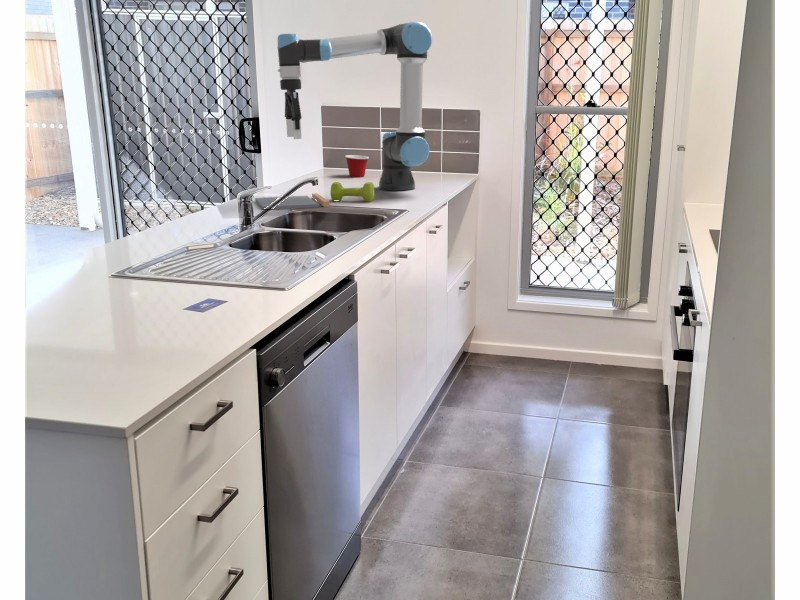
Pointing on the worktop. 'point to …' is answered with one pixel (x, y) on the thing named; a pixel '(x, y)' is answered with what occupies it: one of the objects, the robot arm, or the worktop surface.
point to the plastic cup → (356, 165)
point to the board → (288, 202)
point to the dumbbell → (352, 191)
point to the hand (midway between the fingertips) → (294, 137)
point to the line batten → (321, 200)
